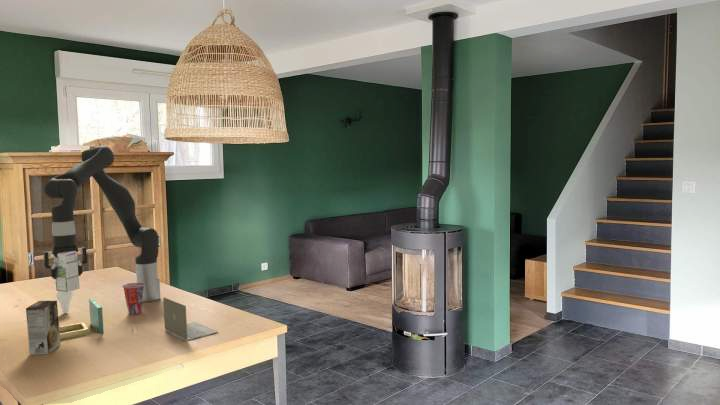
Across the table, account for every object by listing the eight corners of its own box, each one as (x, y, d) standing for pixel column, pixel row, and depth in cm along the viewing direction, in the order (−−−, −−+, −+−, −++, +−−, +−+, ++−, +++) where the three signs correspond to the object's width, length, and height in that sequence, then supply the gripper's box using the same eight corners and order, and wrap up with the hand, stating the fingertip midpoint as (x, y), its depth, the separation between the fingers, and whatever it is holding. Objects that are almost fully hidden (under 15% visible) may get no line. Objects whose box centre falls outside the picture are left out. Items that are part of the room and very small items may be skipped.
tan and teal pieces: (94, 323, 216) (93, 298, 215) (103, 333, 203) (102, 307, 202) (51, 331, 207) (49, 305, 206) (58, 342, 194) (56, 314, 193)
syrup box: (80, 288, 204) (77, 250, 203) (67, 292, 199) (64, 253, 198) (68, 287, 206) (66, 249, 205) (55, 291, 201) (52, 252, 199)
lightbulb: (66, 315, 228) (64, 289, 227) (54, 315, 229) (52, 289, 228) (77, 311, 234) (75, 286, 233) (64, 311, 235) (62, 286, 234)
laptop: (218, 333, 201) (217, 298, 200) (186, 342, 192) (184, 305, 191) (195, 323, 214) (193, 290, 213) (164, 331, 205) (162, 297, 204)
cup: (150, 311, 232) (148, 283, 230) (134, 316, 224) (132, 288, 223) (134, 309, 235) (132, 281, 234) (118, 314, 228) (116, 286, 227)
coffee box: (41, 345, 191) (38, 300, 190) (61, 344, 191) (57, 299, 190) (28, 355, 182) (24, 307, 180) (48, 354, 182) (45, 307, 181)
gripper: (83, 230, 208) (86, 272, 209) (40, 234, 199) (43, 278, 201) (87, 232, 202) (90, 276, 203) (43, 236, 193) (46, 281, 195)
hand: (67, 277), depth 202 cm, fingers closed on syrup box, 7 cm apart
